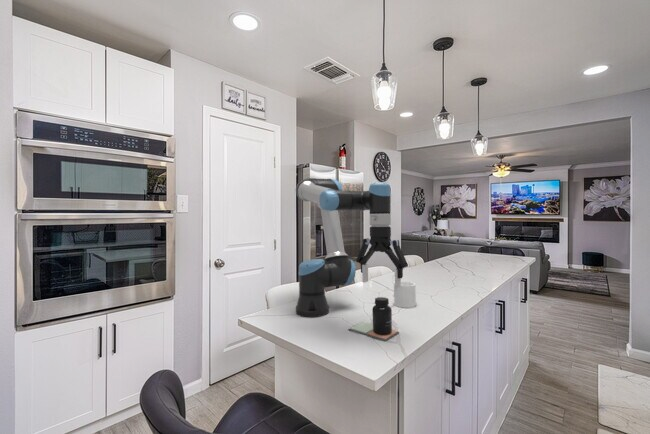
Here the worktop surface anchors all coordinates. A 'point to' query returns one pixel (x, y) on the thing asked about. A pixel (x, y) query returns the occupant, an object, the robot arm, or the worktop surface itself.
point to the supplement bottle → (382, 317)
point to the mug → (405, 295)
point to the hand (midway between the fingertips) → (380, 284)
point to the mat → (371, 331)
